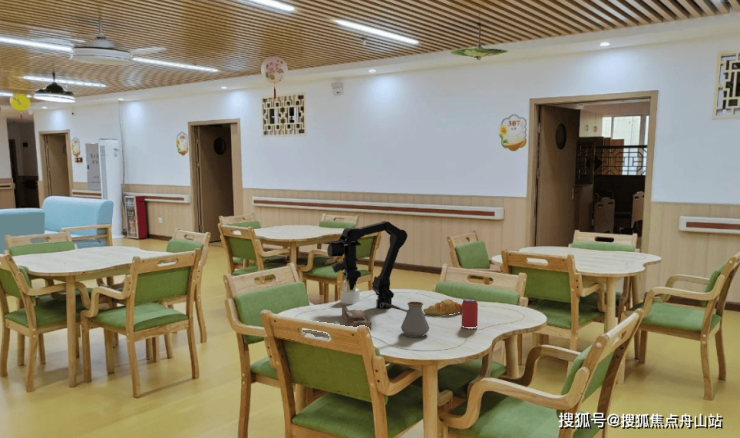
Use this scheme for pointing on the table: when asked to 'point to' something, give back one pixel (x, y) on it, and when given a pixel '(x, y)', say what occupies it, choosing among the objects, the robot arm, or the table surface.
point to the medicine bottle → (349, 296)
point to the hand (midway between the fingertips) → (350, 289)
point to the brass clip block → (348, 286)
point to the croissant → (444, 308)
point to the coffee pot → (413, 319)
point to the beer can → (469, 312)
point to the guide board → (355, 317)
